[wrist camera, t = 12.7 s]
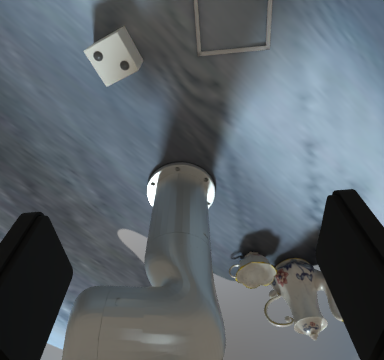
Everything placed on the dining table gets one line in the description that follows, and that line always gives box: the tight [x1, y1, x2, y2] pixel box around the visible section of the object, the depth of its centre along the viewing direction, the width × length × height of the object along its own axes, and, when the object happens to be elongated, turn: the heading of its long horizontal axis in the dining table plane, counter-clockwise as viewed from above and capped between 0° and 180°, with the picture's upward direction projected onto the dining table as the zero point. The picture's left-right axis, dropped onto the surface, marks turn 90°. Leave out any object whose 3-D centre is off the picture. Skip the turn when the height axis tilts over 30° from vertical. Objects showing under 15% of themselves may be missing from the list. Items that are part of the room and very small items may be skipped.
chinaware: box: [229, 251, 343, 341], centre depth 62 cm, size 28×17×17 cm, turn 106°
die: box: [84, 26, 143, 87], centre depth 41 cm, size 5×5×5 cm
